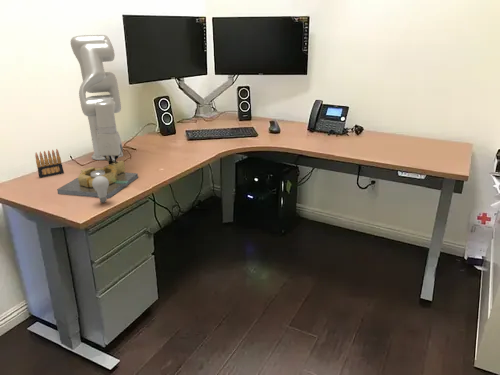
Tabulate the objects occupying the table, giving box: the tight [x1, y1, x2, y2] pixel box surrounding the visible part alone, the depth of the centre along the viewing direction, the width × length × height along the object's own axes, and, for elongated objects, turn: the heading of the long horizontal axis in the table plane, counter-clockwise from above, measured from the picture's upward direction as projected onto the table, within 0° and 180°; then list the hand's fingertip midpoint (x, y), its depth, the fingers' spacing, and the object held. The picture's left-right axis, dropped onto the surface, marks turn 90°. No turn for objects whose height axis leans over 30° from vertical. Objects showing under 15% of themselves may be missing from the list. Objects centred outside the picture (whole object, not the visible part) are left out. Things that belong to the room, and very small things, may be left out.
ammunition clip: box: [34, 148, 65, 179], centre depth 194 cm, size 11×2×12 cm, turn 123°
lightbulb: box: [92, 176, 109, 203], centre depth 164 cm, size 6×6×11 cm
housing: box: [56, 170, 139, 199], centre depth 182 cm, size 24×25×6 cm
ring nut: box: [77, 160, 126, 187], centre depth 184 cm, size 21×15×5 cm
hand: (113, 168), depth 192 cm, fingers closed
